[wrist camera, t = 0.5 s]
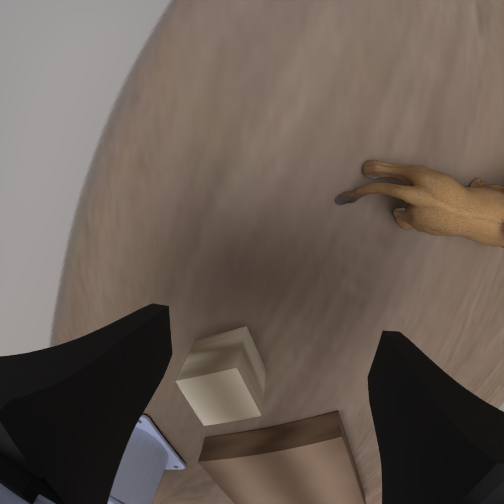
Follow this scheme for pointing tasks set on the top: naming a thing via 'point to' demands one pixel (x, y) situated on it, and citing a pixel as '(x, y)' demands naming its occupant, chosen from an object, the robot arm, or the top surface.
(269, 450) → the walnut plinth
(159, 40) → the top surface
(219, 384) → the birch block
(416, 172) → the lion figurine
